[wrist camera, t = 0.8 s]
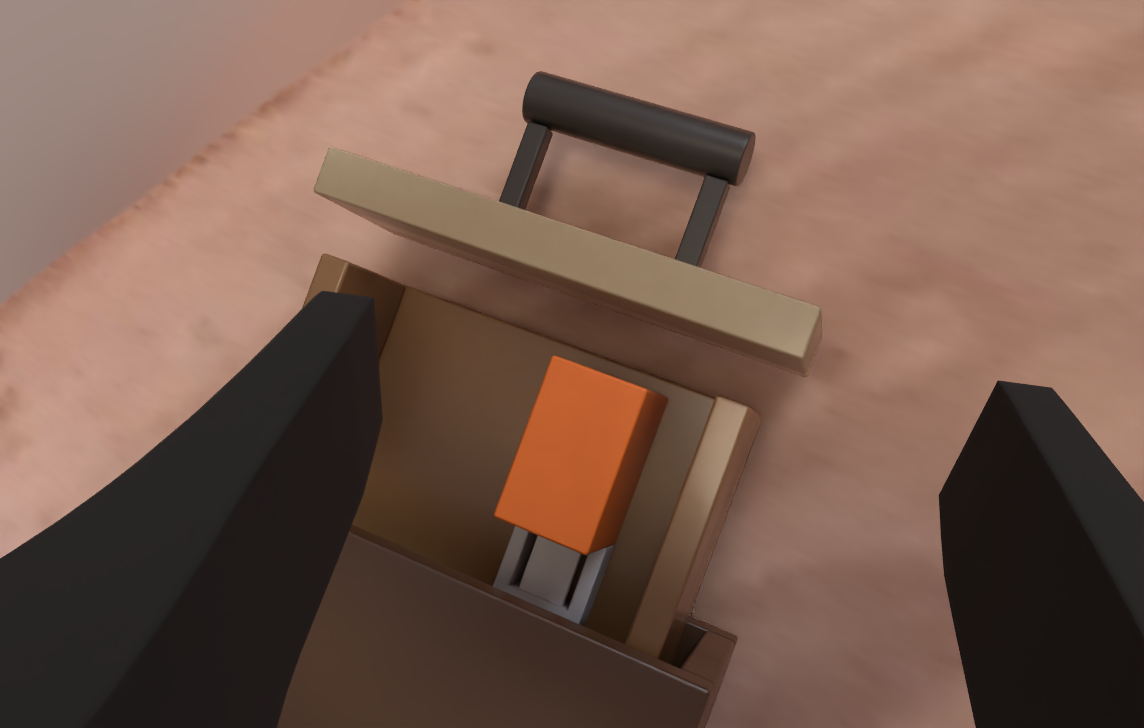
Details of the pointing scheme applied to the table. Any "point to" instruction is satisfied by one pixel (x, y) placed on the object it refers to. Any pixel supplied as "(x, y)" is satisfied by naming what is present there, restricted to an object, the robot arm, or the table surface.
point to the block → (573, 484)
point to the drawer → (560, 355)
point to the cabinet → (480, 657)
